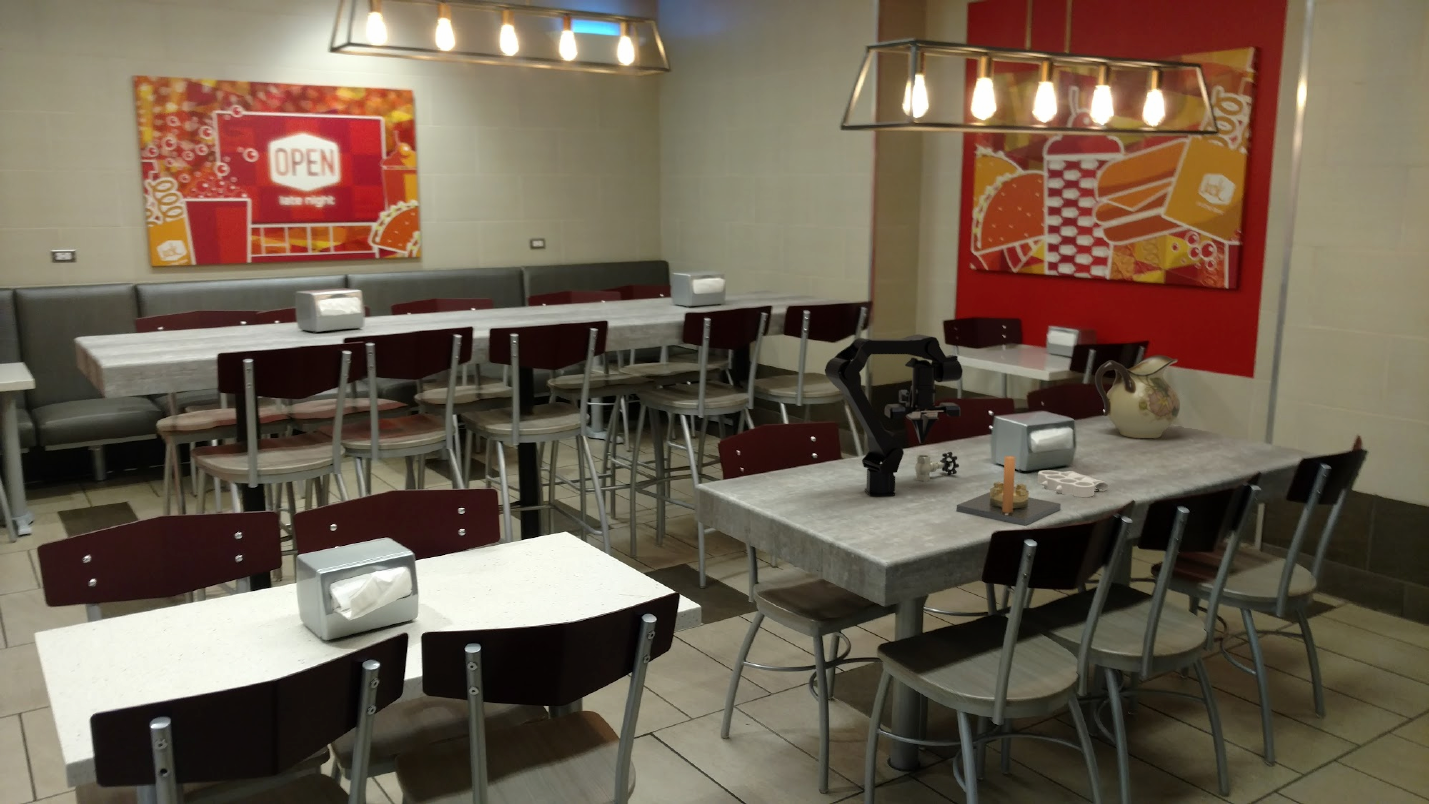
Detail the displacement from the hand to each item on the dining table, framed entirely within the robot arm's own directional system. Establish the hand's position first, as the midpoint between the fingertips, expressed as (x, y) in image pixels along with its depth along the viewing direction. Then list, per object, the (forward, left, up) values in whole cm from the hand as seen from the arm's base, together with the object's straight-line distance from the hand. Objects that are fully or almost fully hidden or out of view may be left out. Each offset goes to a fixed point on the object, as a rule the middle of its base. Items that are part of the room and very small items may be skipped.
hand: (921, 443), depth 283 cm
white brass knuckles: (+38, -6, -13) cm, 41 cm away
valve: (+7, +10, -12) cm, 17 cm away
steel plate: (+15, -23, -12) cm, 30 cm away
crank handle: (+14, -26, -10) cm, 31 cm away
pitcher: (+89, +53, -12) cm, 104 cm away
